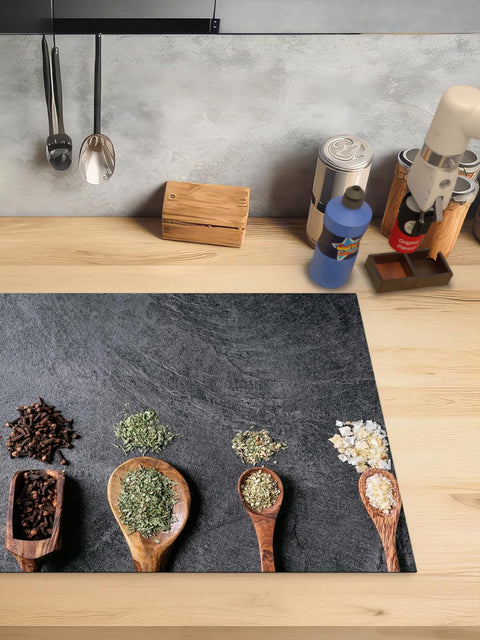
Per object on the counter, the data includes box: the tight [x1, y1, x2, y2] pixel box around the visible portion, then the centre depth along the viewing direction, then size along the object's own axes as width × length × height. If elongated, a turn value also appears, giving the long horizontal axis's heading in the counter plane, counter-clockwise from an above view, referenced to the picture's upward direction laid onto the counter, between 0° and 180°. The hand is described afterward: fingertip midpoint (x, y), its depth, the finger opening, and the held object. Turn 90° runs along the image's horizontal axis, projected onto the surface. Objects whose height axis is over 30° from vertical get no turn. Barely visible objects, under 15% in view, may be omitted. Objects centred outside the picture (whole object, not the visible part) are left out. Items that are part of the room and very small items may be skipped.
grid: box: [364, 247, 454, 294], centre depth 164 cm, size 16×9×4 cm, turn 98°
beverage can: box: [387, 195, 433, 253], centre depth 153 cm, size 6×6×12 cm
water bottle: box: [308, 184, 373, 290], centre depth 156 cm, size 9×9×25 cm
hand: (412, 221), depth 152 cm, fingers closed on beverage can, 6 cm apart
